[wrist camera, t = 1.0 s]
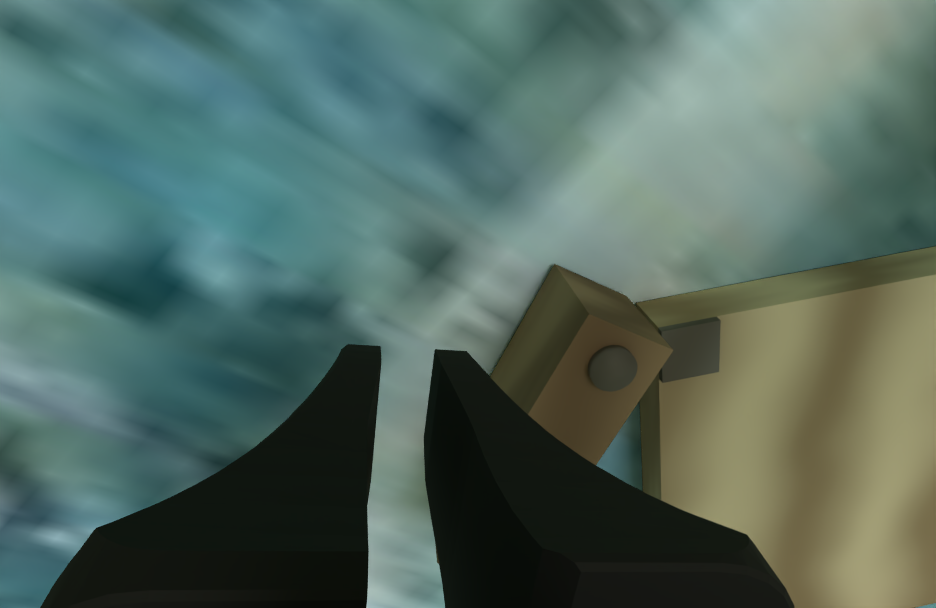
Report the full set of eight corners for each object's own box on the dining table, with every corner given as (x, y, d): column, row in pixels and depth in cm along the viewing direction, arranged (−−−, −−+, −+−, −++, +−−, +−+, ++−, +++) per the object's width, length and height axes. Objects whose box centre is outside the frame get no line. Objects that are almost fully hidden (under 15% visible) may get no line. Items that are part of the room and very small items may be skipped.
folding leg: (626, 296, 22) (677, 355, 18) (496, 503, 26) (517, 591, 22) (554, 263, 21) (592, 318, 18) (429, 483, 25) (438, 570, 21)
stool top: (977, 238, 23) (1085, 279, 20) (897, 613, 32) (962, 689, 28) (636, 302, 23) (683, 356, 19) (648, 667, 31) (683, 752, 28)
